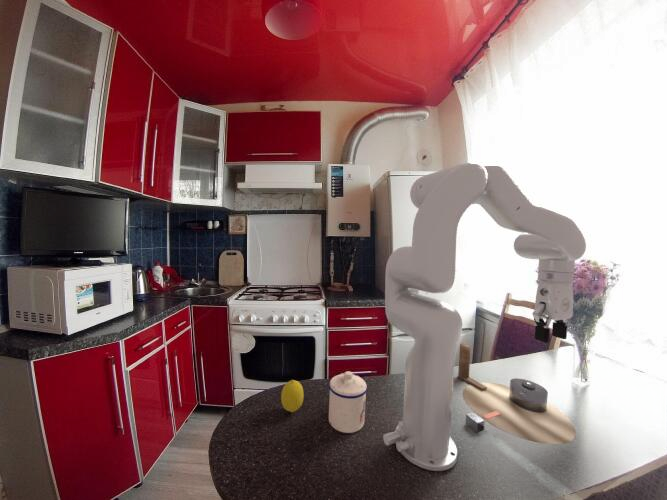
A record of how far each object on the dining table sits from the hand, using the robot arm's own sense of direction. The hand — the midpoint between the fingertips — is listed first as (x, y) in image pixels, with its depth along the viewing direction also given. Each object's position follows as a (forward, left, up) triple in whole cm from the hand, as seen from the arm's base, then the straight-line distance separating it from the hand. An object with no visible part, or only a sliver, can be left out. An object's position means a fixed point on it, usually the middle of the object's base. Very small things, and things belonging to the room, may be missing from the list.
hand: (550, 338), depth 71 cm
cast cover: (-9, 0, -17) cm, 19 cm away
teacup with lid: (-57, +14, -18) cm, 61 cm away
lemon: (-69, +20, -18) cm, 74 cm away
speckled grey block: (-30, 0, -18) cm, 35 cm away
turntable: (-15, +2, -18) cm, 23 cm away
